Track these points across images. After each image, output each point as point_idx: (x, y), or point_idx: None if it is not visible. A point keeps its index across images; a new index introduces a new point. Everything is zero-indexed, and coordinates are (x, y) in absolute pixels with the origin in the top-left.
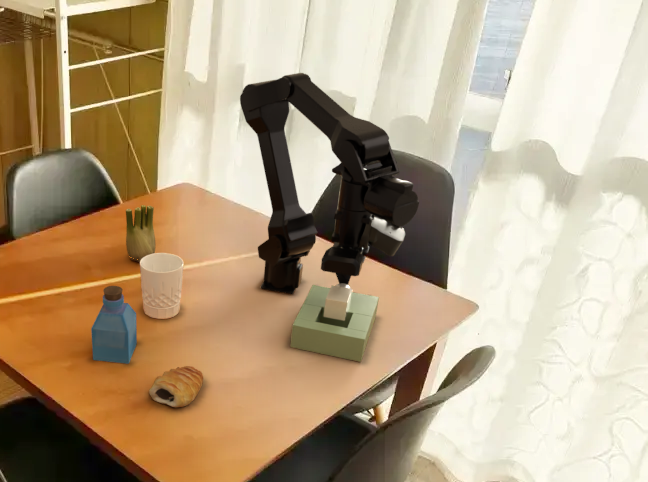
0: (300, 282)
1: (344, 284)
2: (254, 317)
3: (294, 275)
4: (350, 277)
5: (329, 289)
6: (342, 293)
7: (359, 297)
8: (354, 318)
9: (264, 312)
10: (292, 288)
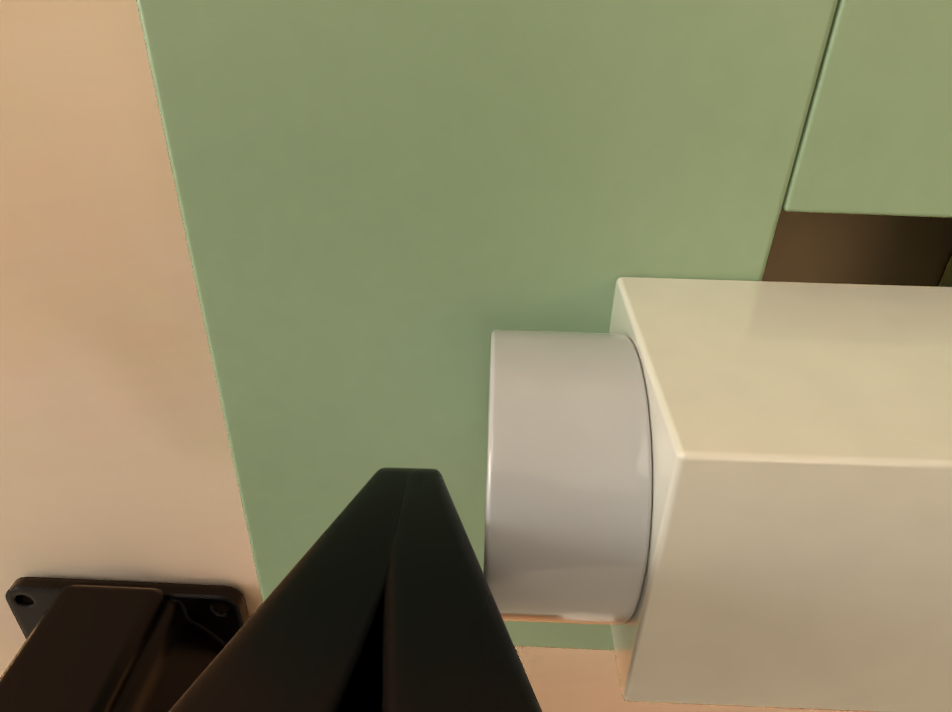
0: (79, 592)
1: (525, 571)
2: (604, 692)
3: (132, 708)
4: (513, 652)
5: (281, 514)
6: (905, 572)
7: (305, 188)
8: (949, 172)
9: (528, 665)
10: (182, 610)
